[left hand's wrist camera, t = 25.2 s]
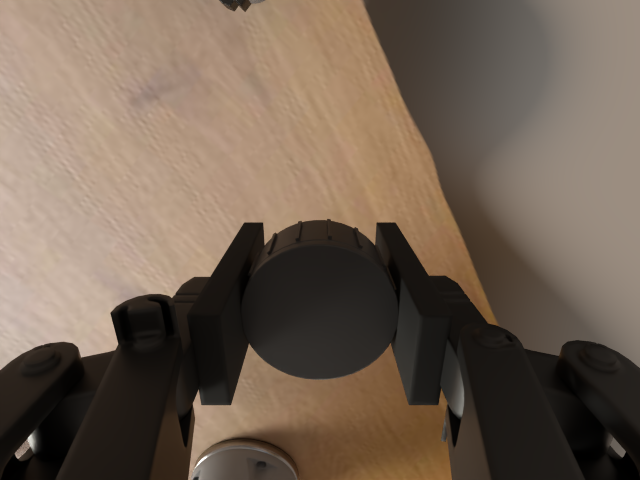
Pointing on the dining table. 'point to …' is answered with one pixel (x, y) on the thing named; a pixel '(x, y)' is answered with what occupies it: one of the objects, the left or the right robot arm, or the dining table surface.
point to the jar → (256, 1)
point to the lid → (319, 301)
